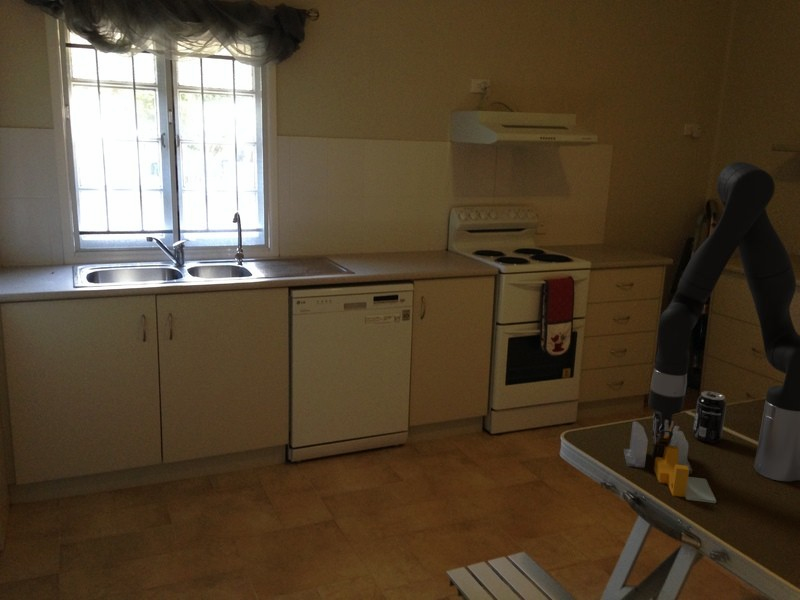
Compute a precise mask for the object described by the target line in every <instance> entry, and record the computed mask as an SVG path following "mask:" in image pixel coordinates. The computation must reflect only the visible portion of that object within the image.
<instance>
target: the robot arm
mask: <svg viewBox="0 0 800 600" xmlns="http://www.w3.org/2000/svg"><path fill="white" fill-rule="evenodd" d="M775 189H776V187H775V181H774V178H773V177H772V175H771V174H770V173H769V172H768V171H766V170H764V169H762V168H761V167H758V166H756V165H755V164H753V163H749V162H746V161H745V162H744V161H735V162H732V163H729V164H727V165H726V166H725V167H724V168H723V169H722V170H721V172H720V173H719V175H718V178H717V182H716V190H717V195H718V197H719V199H720V200H721V203H722V206H723V207H724V209H723V212H722V215H721V216H720V218H719V221H718V223H716V226H715V227H714V229H713V230H712V232H711V233H710V234H709V235H708V237H707V238H706V239H705V240H704V241H703V242H702V243H701V244H700V245H699V247H698V248H697V249H696V250H695V251H694V253H693V254H692V256H691V257H690V260H689V261H688V262H687V263H688V264H687V265H686V267H685V268H684V270H683V272H682V275H681V277H680V279H679V282H678V285H677V290H676V292H675V294H674V295H673V297H672V299H671V301H670V303H669V305H668V307H667V308H666V309H665V310H664V311H663V312H661V315H660V316H659V320H658V325H657V326H658V327H657V351H656V356H655V363H654V368H653V373H652V376H651V380H650V388H649V389H650V390H649V396H648V403H647V404H648V407H649V408H650V409H652V410H653V413H652V416H653V417H652V419H653V420H652V436H653V439H652V440H653V446H652V447H653V448H652V454H651V457H652V459H654V460H655V459H656V457H663V458H664V451H665V447H668V445H670V444H671V438H672V436H673V432H672V428H674V425H675V424H674V422H675V420H674V418H673V416H674V415H675V414H676V415H677V414H680V413H682V412H683V409H684V404H685V397H686V391H687V386H688V370H689V364H690V355H691V354H690V350H689V346H690V341H691V337H692V336H691V335H692V331H693V330H694V328H695V326H696V325H697V323H698V321H699V320H700V317H701V315H702V312H703V310H704V308H705V305H706V302H707V301H708V299H709V297H710V295H711V294H712V293H713V291H714V289H715V287H716V285H717V283H718V281H719V280H720V277H721V275H722V274H723V272H724V269H725V268H726V266H727V264H728V262H729V260H730V259H731V257H732V256H733V254H734V252H735V251H736V250H738V253H739V254H738V255H739V257H740V260H741V265H742V267H743V272H744V276H745V279H746V282H747V283H746V284H747V286H748V288H749V291H750V293H751V297H752V300H753V304H754V308H755V311H756V314H757V318H758V322H759V325H760V331H761V337H762V343H763V349H764V353H765V357H766V360H767V361H768V363H769V365H771V366H772V367H773V369H775V370H777V371H778V372H781V373H783V374H785V377H784V381H783V384H782V385H774V386H771V387H769V388H768V389H767V392H766V396H765V397H766V398H765V402H764V407H763V413H762V418H761V419H762V420H761V426H760V432H759V436H758V437H759V438H758V443H757V448H756V454H755V459H754V464H753V465H754V466H753V468H754V469H753V470H754V471H755V472H756V473H758V475H761V476H762V477H765V478H767V479H770V480H775V481H778V482H794V481H800V334H798V332H797V331H796V328H795V327H794V324H793V320H792V317H791V313H790V307H791V305H792V302H793V299H794V296H795V293H796V289H797V280H796V275H795V272H794V269H793V266H792V262H791V259H790V256H789V253H788V251H787V249H786V246H785V245H784V243H783V242H782V240H781V238H780V236H779V234H778V232H777V231H776V229H775V228H774V225H772V222H771V221H770V218H769V216H768V213H767V209H766V208H767V206H768V205H769V203H770V202H771V201H772V198H773V197H774V194H775Z"/></svg>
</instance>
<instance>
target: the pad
mask: <svg viewBox="0 0 800 600" xmlns="http://www.w3.org/2000/svg"><path fill="white" fill-rule="evenodd" d="M684 498H685V499H686V500H688V501H695V502H696V501H697V502H705V503H711V504H716V503H717V500H716V497H715V495H714V493H713V491H712V489H711V486H710V485H709V483H708V480H707V478H701V477H693V476H688V482H687V488H686V494H685V497H684Z"/></svg>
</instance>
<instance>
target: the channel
mask: <svg viewBox="0 0 800 600" xmlns="http://www.w3.org/2000/svg"><path fill="white" fill-rule="evenodd" d="M671 432H673V436H672V438H671V440H670V445H673V446H677V447H678V449H679V454H678V465H686V466H688V468H689V475H693V469H692V467H691V464H690V462H689V460H688V454H689V446H690V445H689V442H688V440H687V439H686V437H685V434H684V431H683V430H680V426H678V425H674V426H673V429H672V430H671ZM648 439H649V438H648V437H647V434H646V432H645V428H644V426H643V425H641V423H639V422H638V421H635V420H634V421H632V425H631V433H630V441H629V448H623V454H624V458H625V462H626V463H625V464H626V466H627V467H630V468H639V469H645V466H646V465H645V464H646V459H647V453H648V452H647V451H648V443H649V440H648Z"/></svg>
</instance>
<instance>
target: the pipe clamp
mask: <svg viewBox="0 0 800 600" xmlns="http://www.w3.org/2000/svg"><path fill="white" fill-rule="evenodd" d="M678 454H679V449H678V447H677V446H673V445H671V444H669V445H668V447H665V449H664V455H663V457H656V459H654V467H653V471H654V473H655V475H656V478H657V481H658V483H661V484H667V485H668V489H669V490H670V493H671V496H673V497H680V498H681V497H682V498H685V494H686V488H687V482H688V477H689V475H690V474H689V468H688V466H686V465H678Z"/></svg>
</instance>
